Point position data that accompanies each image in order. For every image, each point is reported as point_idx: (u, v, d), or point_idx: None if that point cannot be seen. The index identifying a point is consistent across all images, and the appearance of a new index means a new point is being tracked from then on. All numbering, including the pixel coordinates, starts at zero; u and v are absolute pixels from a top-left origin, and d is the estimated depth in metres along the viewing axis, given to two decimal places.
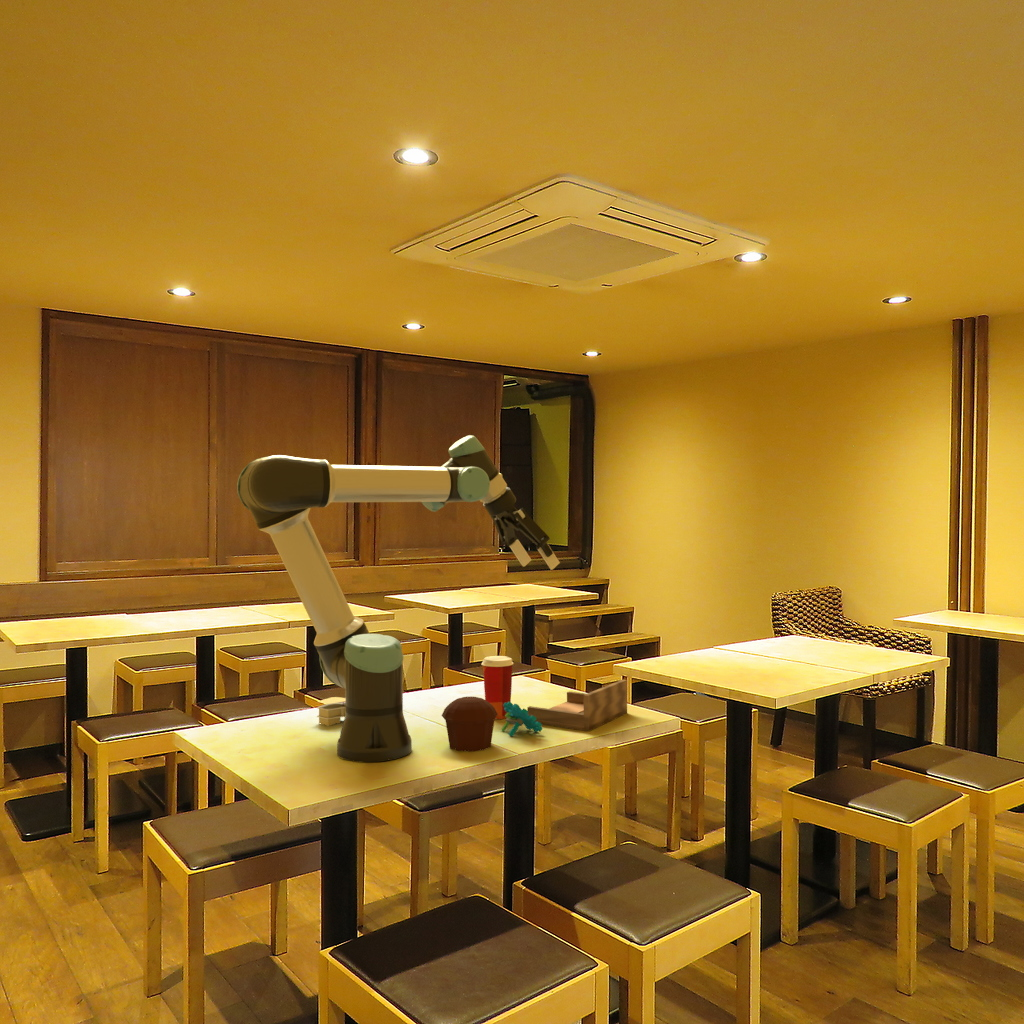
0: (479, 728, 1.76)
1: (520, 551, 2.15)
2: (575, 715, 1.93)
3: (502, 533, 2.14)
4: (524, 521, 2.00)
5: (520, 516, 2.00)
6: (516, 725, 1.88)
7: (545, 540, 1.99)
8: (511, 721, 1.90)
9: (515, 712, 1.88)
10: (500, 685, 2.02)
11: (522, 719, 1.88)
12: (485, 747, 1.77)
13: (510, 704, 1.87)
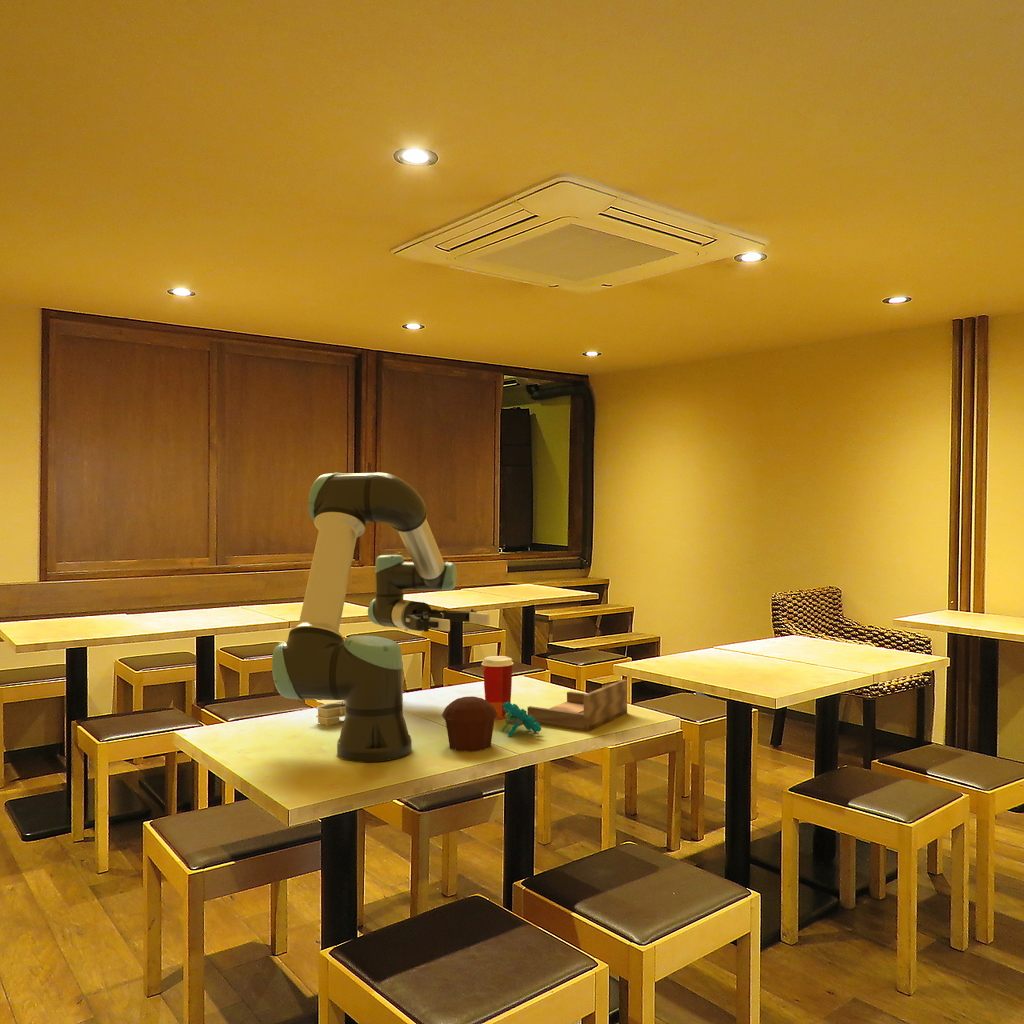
0: (479, 728, 1.76)
1: None
2: (575, 715, 1.93)
3: None
4: None
5: None
6: (515, 725, 1.88)
7: None
8: (510, 721, 1.90)
9: (514, 712, 1.88)
10: (500, 685, 2.02)
11: (521, 719, 1.88)
12: (485, 747, 1.77)
13: (509, 704, 1.87)
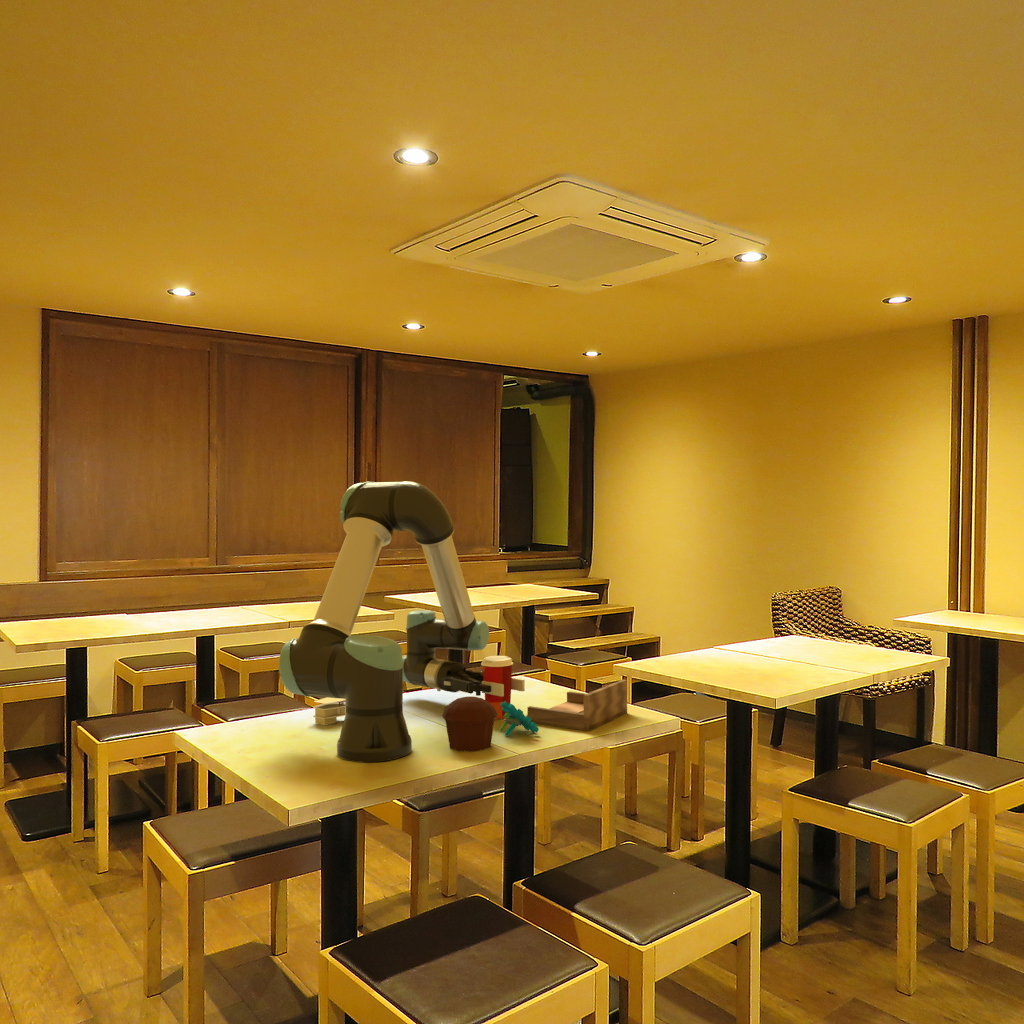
0: (479, 728, 1.76)
1: None
2: (575, 715, 1.93)
3: None
4: None
5: None
6: (512, 725, 1.88)
7: None
8: (508, 721, 1.90)
9: (511, 712, 1.88)
10: None
11: (518, 719, 1.88)
12: (485, 747, 1.77)
13: (506, 704, 1.87)
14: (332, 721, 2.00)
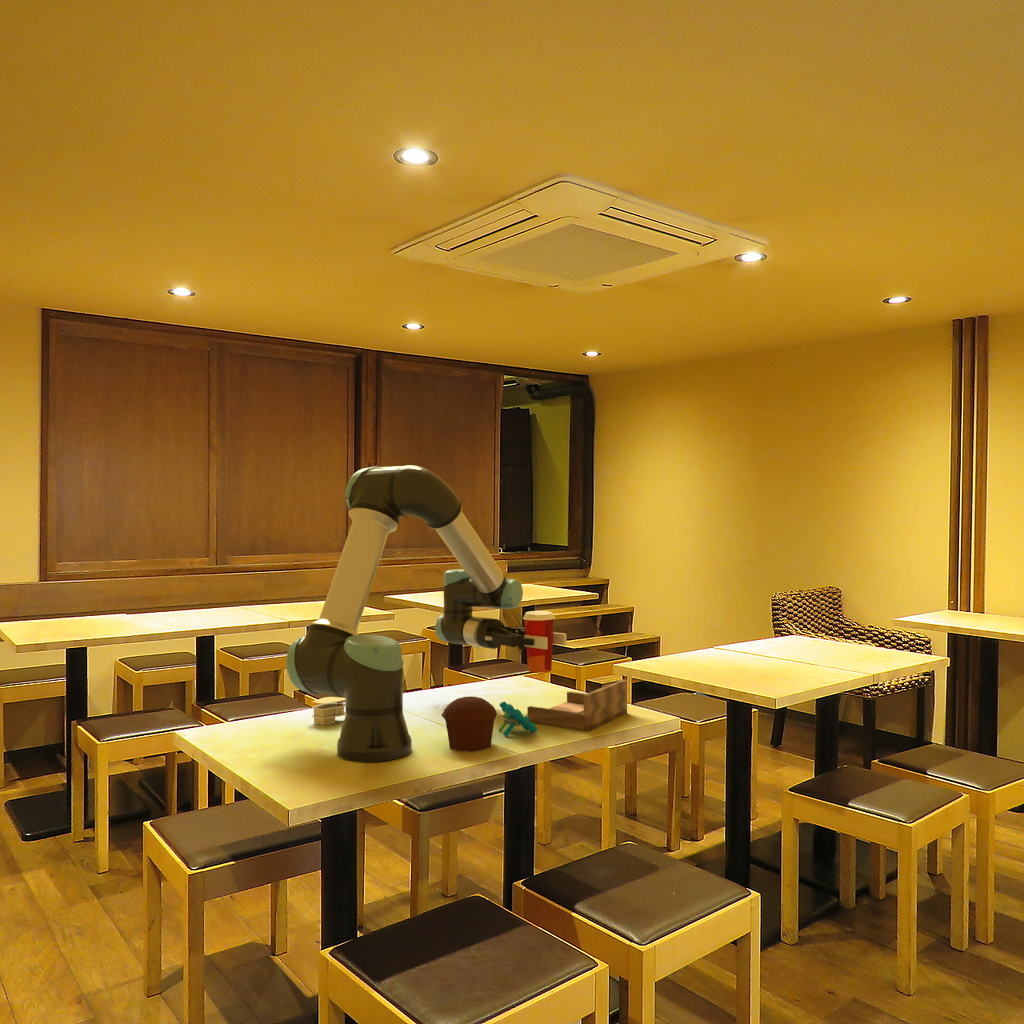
0: (479, 728, 1.76)
1: None
2: (575, 715, 1.93)
3: None
4: None
5: None
6: (511, 725, 1.88)
7: None
8: (507, 721, 1.90)
9: (510, 712, 1.88)
10: None
11: (517, 719, 1.88)
12: (485, 747, 1.77)
13: (505, 704, 1.87)
14: (331, 721, 2.00)
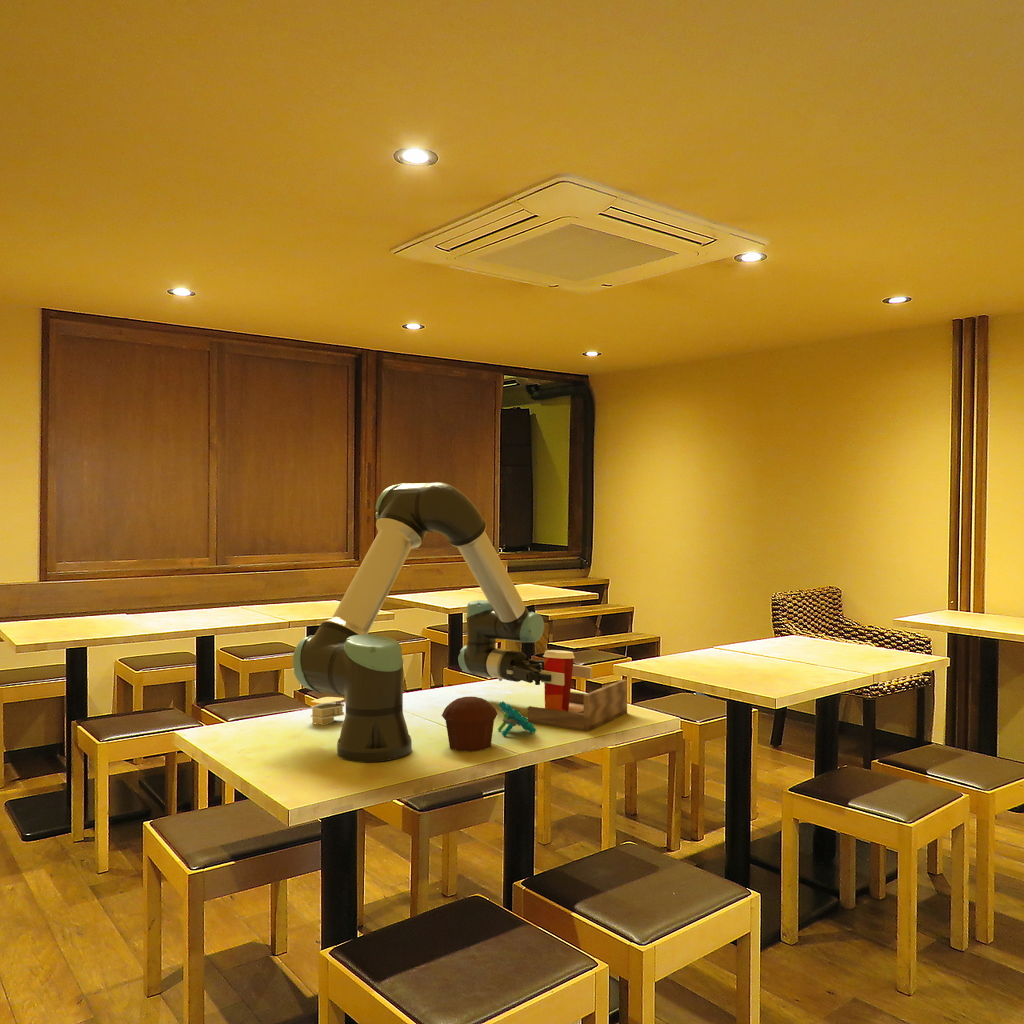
0: (479, 728, 1.76)
1: None
2: (575, 715, 1.93)
3: None
4: None
5: None
6: (509, 725, 1.88)
7: None
8: (507, 721, 1.90)
9: (509, 712, 1.88)
10: None
11: (516, 719, 1.88)
12: (485, 747, 1.77)
13: (503, 704, 1.88)
14: (329, 721, 2.00)
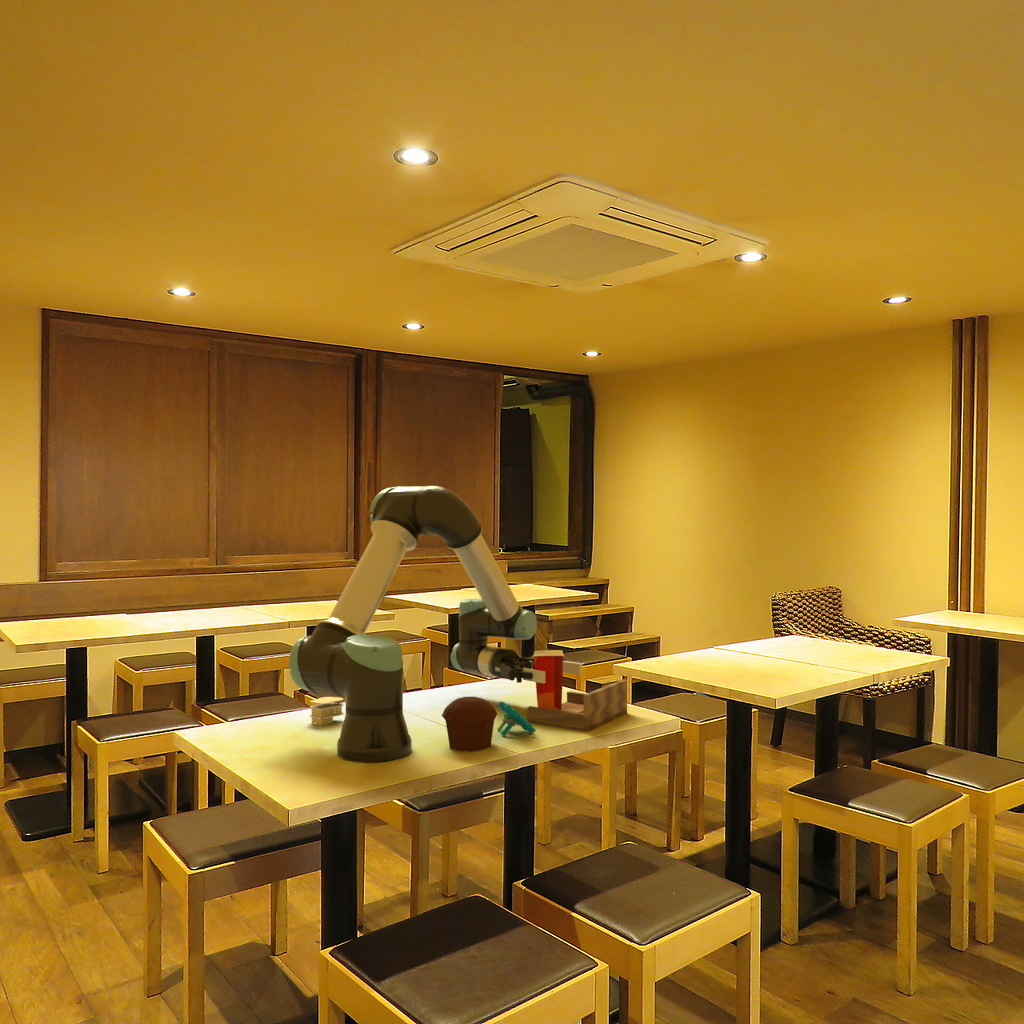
0: (479, 728, 1.76)
1: None
2: (575, 715, 1.93)
3: None
4: None
5: None
6: (509, 725, 1.88)
7: None
8: (506, 721, 1.90)
9: (508, 712, 1.88)
10: (552, 675, 2.02)
11: (515, 719, 1.88)
12: (485, 747, 1.77)
13: (502, 704, 1.88)
14: (328, 721, 2.00)
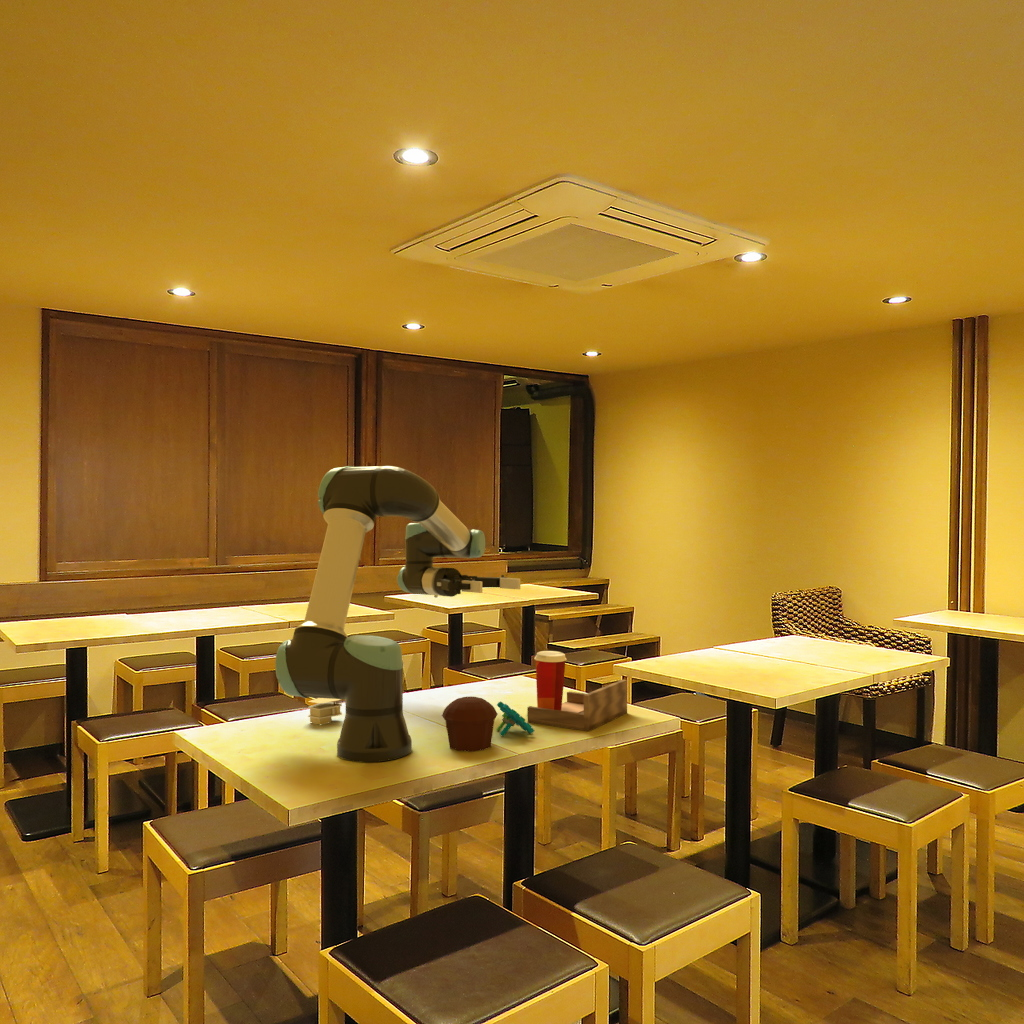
0: (479, 728, 1.76)
1: None
2: (575, 715, 1.93)
3: None
4: None
5: None
6: (507, 725, 1.88)
7: None
8: (505, 721, 1.90)
9: (507, 712, 1.88)
10: (553, 681, 2.00)
11: (514, 720, 1.88)
12: (485, 747, 1.77)
13: (501, 704, 1.88)
14: (327, 721, 2.00)
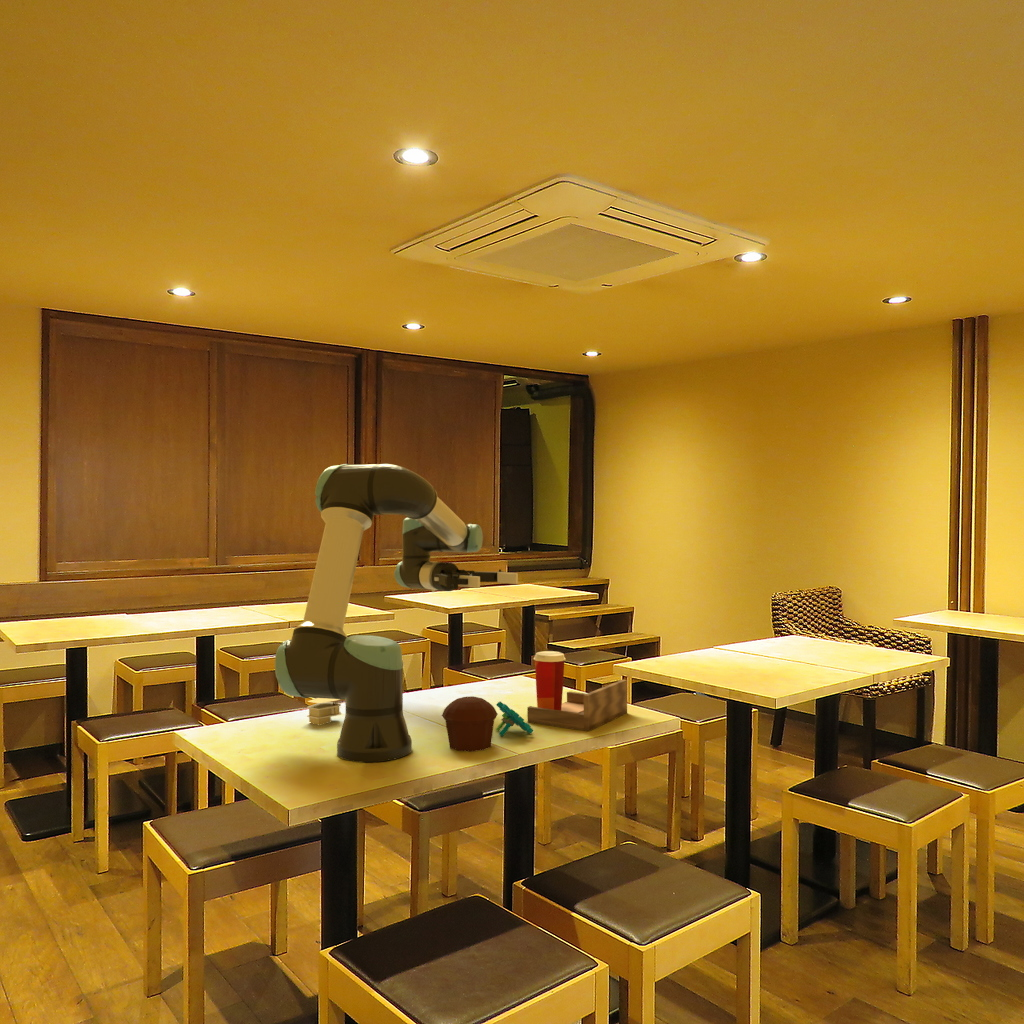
0: (479, 728, 1.76)
1: None
2: (575, 715, 1.93)
3: None
4: None
5: None
6: (507, 725, 1.88)
7: None
8: (505, 721, 1.90)
9: (506, 712, 1.88)
10: (552, 680, 2.01)
11: (513, 720, 1.88)
12: (485, 747, 1.77)
13: (500, 704, 1.88)
14: (326, 721, 2.00)
